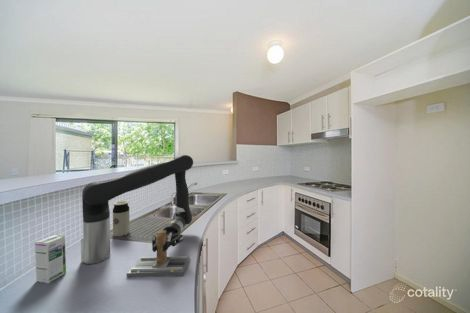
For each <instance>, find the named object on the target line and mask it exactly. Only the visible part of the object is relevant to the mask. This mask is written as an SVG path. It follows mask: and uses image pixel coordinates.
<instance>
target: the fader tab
mask: <svg viewBox="0 0 470 313" xmlns="http://www.w3.org/2000/svg"><path fill="white" fill-rule="evenodd" d="M156 236H157V240H156V241H157V250H156V257H157V260H156V262H155V263H154V265H153V266H152V268H159V267H166V266H167V265H168V263H169V261H170V259H171V257H172V256H167V254H168V253H167V250H168V249H167V250H166V251H165V252H163V245H164V244H165V243H166V242H167V235H166V230H164V229H162V230H158V231H157V232H156Z"/></svg>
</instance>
